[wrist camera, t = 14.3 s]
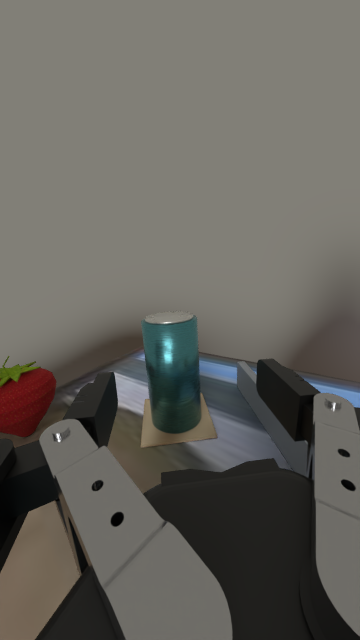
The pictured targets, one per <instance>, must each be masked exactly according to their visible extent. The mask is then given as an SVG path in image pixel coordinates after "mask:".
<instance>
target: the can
mask: <svg viewBox="0 0 360 640" xmlns="http://www.w3.org/2000/svg"><path fill="white" fill-rule="evenodd" d="M141 324H142V333H143V342H144V352H145V361H146V370H147V380H148V389H149V398H150V408H151V417H152V423H153V425H154V426H155V427H156V428H157V429H158V430H160V431H162V432H165V433H171V434H178V433H183V432H187V431H189V430H191V429H193V428H194V427H196V426H197V425H198V424H199V422H200V420H201V395H200V374H199V352H198V331H197V317H196V316H195V315H193V314H191V313H188V312H162V313H156V314H152V315H149V316H147V317H145V319H143V320H142V321H141Z"/></svg>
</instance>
